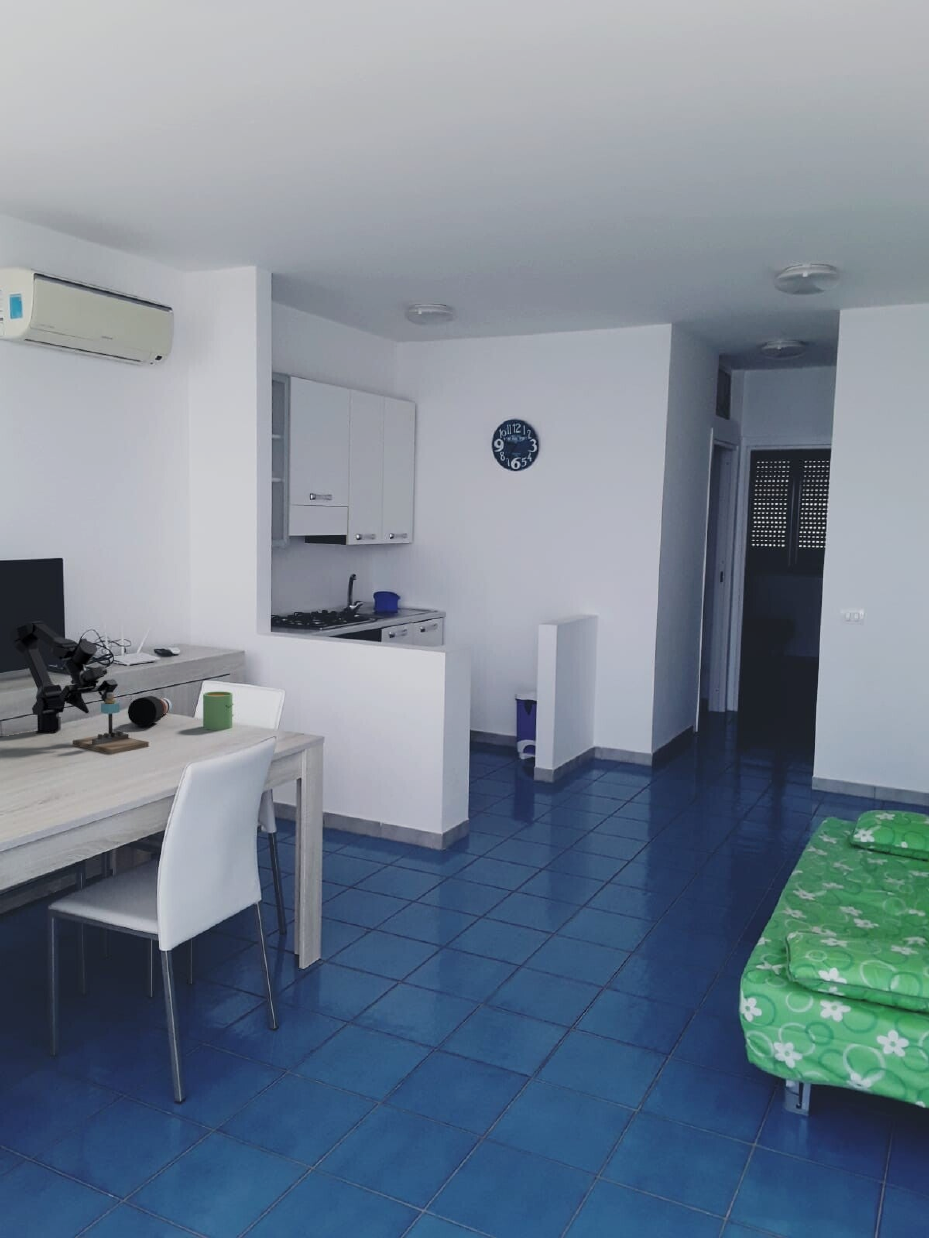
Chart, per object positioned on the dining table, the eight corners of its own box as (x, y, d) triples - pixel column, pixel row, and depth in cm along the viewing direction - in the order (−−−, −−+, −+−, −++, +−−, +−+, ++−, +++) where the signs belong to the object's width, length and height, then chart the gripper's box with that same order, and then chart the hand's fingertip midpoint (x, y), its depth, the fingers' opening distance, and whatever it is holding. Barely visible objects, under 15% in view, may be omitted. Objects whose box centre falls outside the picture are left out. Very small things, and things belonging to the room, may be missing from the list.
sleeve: (101, 712, 319) (101, 703, 319) (111, 710, 322) (111, 701, 322) (108, 714, 317) (108, 704, 317) (119, 712, 320) (119, 703, 320)
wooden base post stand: (72, 744, 321) (71, 692, 319) (109, 737, 332) (109, 686, 330) (111, 754, 309) (111, 699, 308) (148, 746, 321) (148, 693, 319)
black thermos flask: (172, 722, 381) (185, 699, 382) (147, 731, 348) (161, 706, 348) (149, 710, 381) (162, 687, 381) (122, 717, 347) (136, 692, 348)
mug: (229, 730, 348) (229, 696, 347) (199, 729, 348) (199, 695, 347) (238, 723, 361) (238, 690, 360) (209, 722, 361) (209, 689, 360)
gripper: (64, 660, 316) (85, 699, 311) (114, 655, 332) (135, 692, 326) (49, 682, 321) (70, 720, 316) (99, 675, 337) (120, 712, 332)
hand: (100, 710), depth 323 cm, fingers open, 9 cm apart
